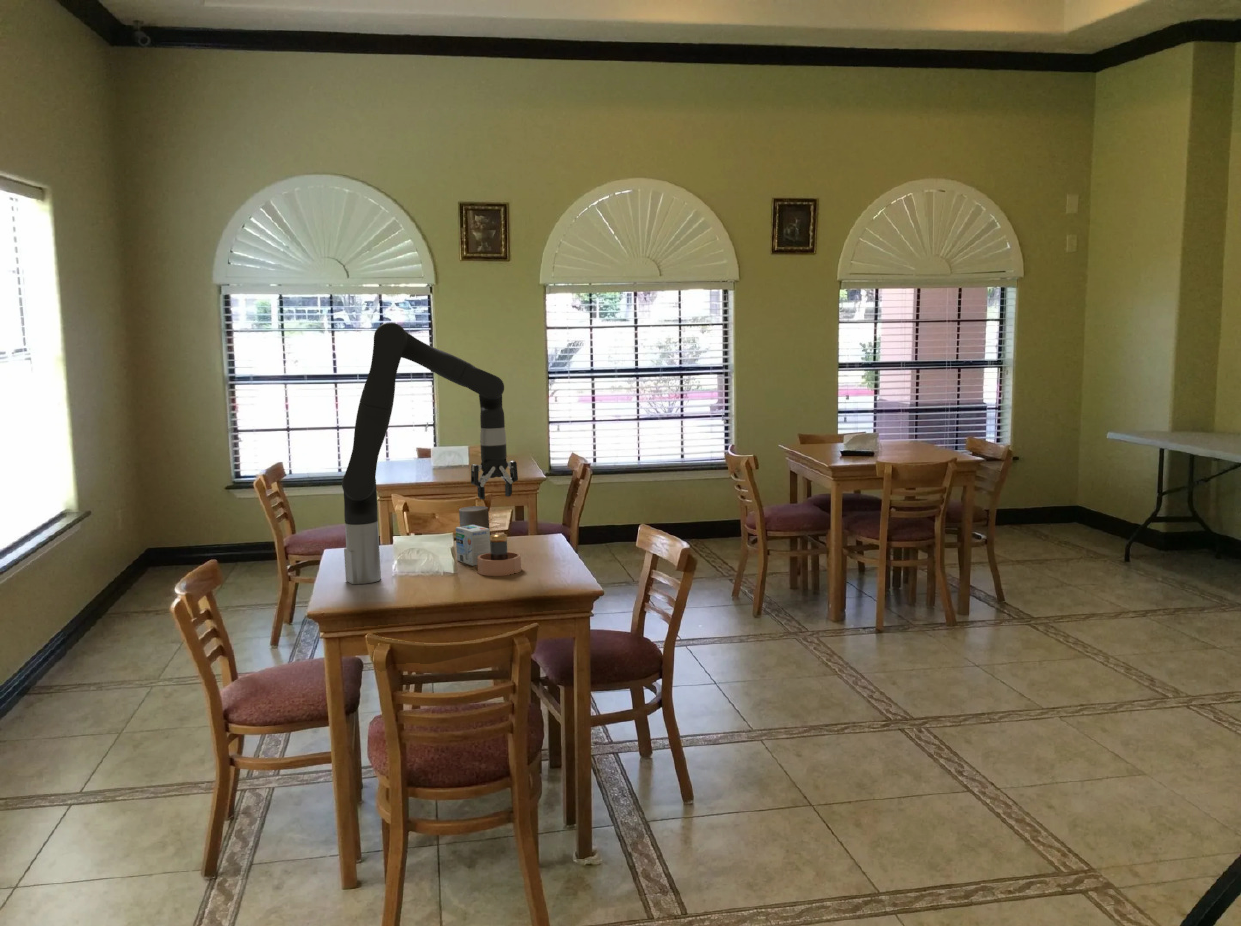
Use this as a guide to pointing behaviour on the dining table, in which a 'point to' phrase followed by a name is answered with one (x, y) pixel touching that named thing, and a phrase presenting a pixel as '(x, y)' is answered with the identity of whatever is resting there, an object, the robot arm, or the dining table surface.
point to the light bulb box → (472, 543)
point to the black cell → (498, 546)
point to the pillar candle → (474, 516)
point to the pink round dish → (499, 565)
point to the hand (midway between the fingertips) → (495, 497)
